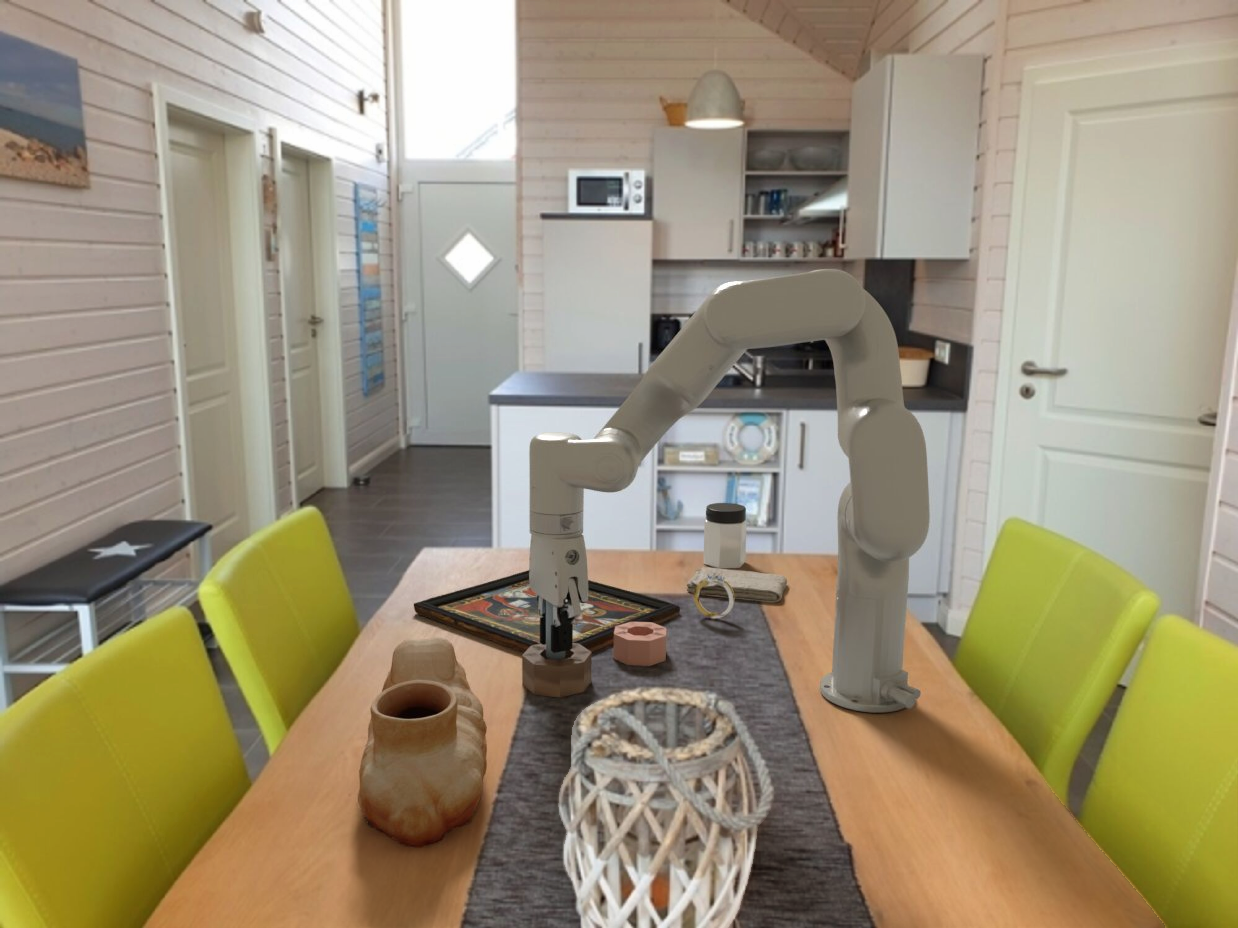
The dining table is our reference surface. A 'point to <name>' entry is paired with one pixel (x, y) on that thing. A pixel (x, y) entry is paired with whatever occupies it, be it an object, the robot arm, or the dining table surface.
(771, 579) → the washcloth
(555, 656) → the dowel
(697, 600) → the ring
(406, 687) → the ceramic vessel
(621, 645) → the pink octagonal nut
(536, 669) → the bead
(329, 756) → the dining table surface
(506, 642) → the religious icon
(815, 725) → the dining table surface
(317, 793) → the dining table surface
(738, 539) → the jar
